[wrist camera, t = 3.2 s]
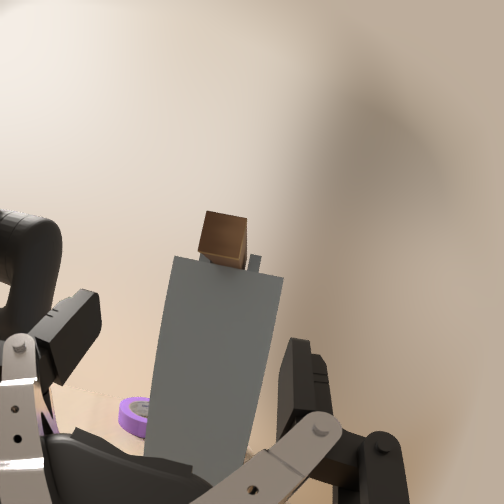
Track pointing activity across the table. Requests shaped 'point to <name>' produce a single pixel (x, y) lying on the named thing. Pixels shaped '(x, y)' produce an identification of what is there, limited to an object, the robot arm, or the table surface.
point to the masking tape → (134, 415)
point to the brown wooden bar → (224, 240)
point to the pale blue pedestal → (210, 364)
